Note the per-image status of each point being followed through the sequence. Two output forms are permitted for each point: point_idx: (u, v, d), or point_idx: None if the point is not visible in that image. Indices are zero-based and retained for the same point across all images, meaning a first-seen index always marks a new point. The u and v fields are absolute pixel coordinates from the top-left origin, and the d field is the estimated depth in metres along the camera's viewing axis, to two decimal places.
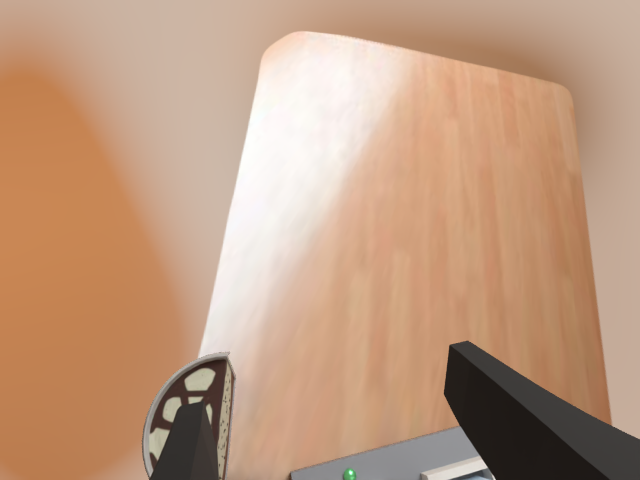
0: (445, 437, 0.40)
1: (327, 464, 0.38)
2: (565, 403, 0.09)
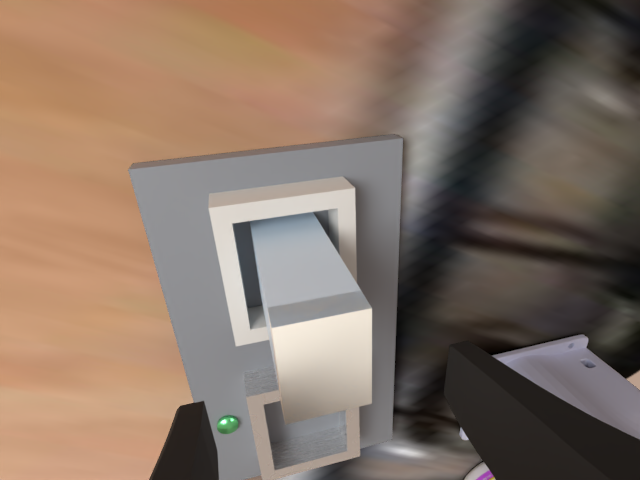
0: (170, 271, 0.18)
1: None
2: (565, 403, 0.09)
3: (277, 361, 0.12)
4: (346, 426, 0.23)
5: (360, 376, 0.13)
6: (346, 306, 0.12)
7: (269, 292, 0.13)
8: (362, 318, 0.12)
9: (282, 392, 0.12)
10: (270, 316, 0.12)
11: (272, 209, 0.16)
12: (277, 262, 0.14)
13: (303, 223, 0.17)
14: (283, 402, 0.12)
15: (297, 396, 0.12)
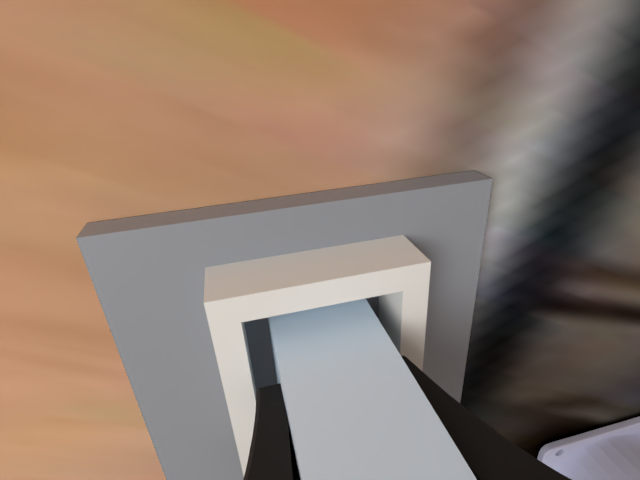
0: (148, 376, 0.12)
1: None
2: (484, 425, 0.08)
3: None
4: None
5: None
6: None
7: None
8: None
9: None
10: None
11: (304, 298, 0.10)
12: (320, 407, 0.09)
13: (347, 309, 0.12)
14: None
15: None
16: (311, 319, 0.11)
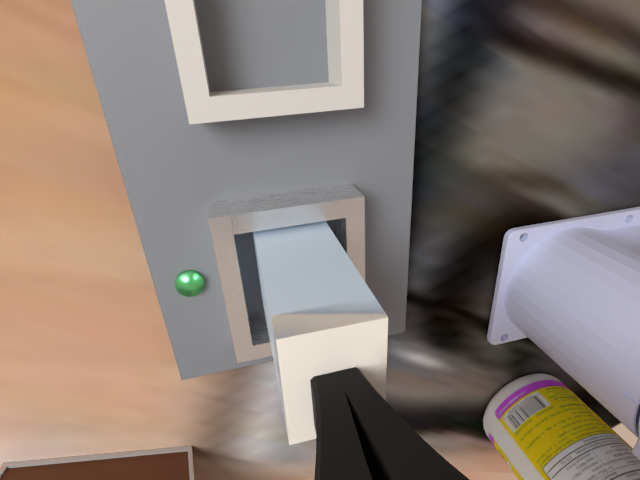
0: (92, 7, 0.12)
1: (167, 321, 0.18)
2: (421, 443, 0.08)
3: (281, 376, 0.10)
4: None
5: None
6: (359, 314, 0.10)
7: (273, 298, 0.11)
8: (376, 328, 0.10)
9: (286, 410, 0.11)
10: (274, 326, 0.10)
11: None
12: (281, 264, 0.13)
13: None
14: (287, 421, 0.11)
15: (303, 414, 0.11)
16: (282, 227, 0.16)
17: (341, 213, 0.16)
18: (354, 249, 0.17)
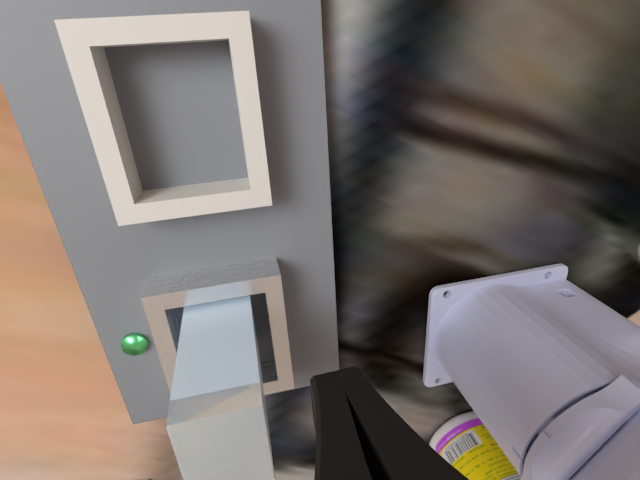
0: (36, 131, 0.15)
1: (116, 376, 0.20)
2: (421, 443, 0.08)
3: (175, 452, 0.13)
4: (273, 348, 0.20)
5: (260, 461, 0.14)
6: (240, 401, 0.13)
7: (177, 381, 0.14)
8: (254, 413, 0.13)
9: (184, 477, 0.13)
10: (169, 411, 0.13)
11: (141, 30, 0.13)
12: (196, 344, 0.15)
13: None
14: None
15: None
16: None
17: (260, 289, 0.18)
18: (276, 317, 0.19)
